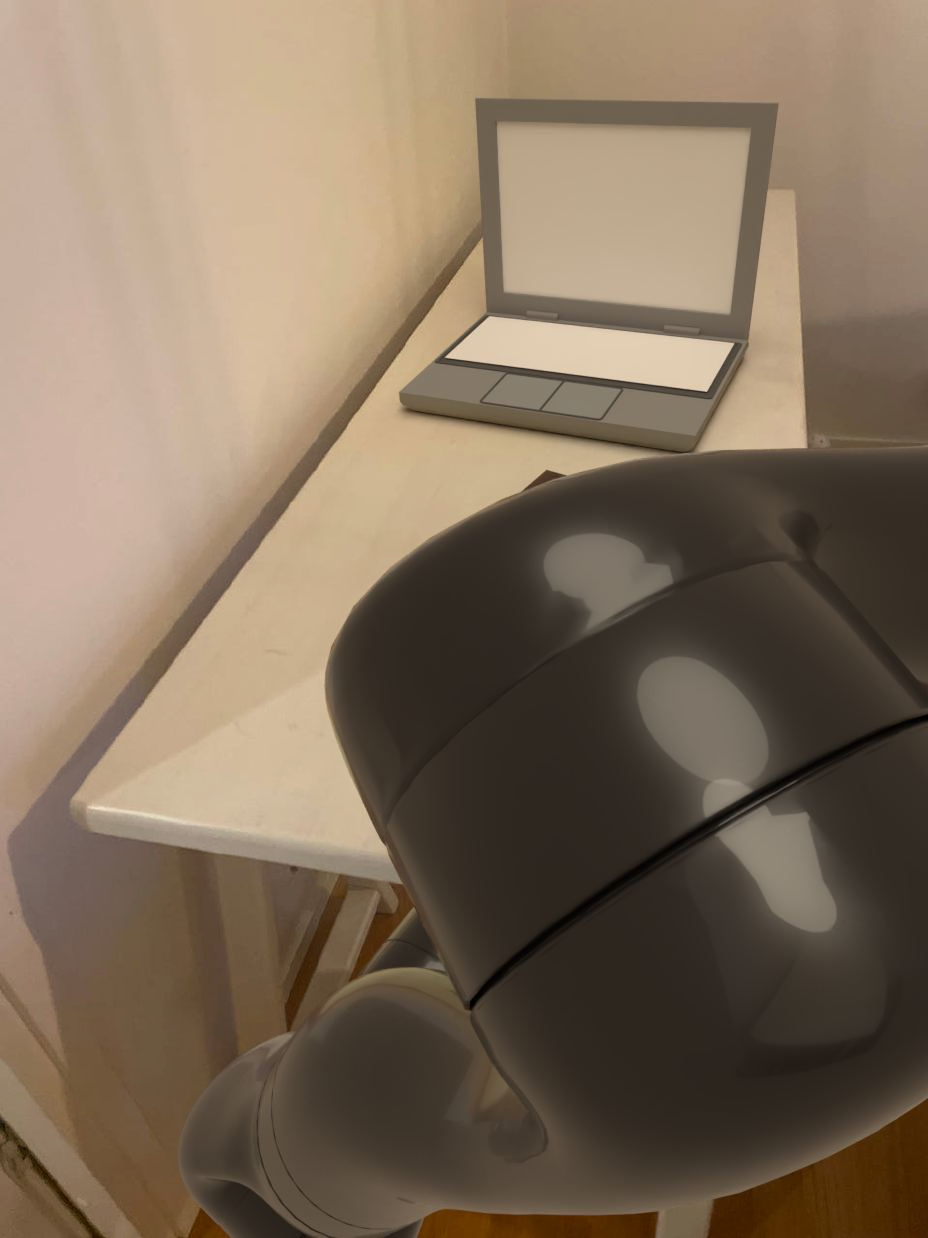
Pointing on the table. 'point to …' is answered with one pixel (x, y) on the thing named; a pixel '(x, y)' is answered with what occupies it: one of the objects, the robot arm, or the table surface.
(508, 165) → the laptop
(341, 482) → the table surface
